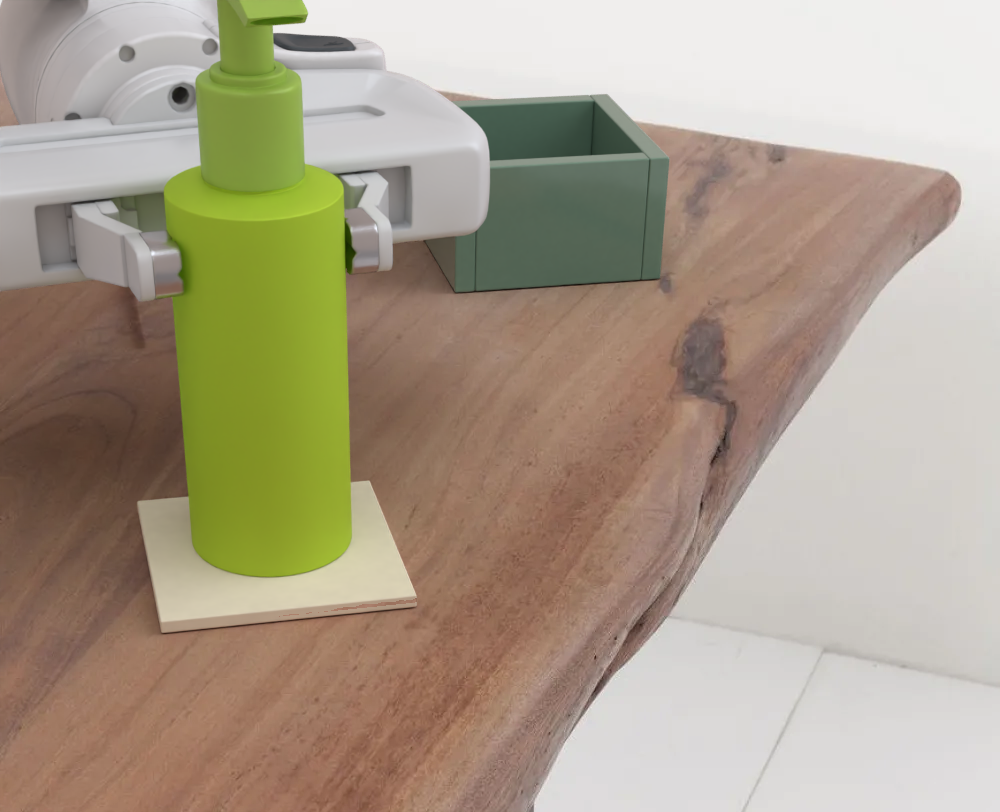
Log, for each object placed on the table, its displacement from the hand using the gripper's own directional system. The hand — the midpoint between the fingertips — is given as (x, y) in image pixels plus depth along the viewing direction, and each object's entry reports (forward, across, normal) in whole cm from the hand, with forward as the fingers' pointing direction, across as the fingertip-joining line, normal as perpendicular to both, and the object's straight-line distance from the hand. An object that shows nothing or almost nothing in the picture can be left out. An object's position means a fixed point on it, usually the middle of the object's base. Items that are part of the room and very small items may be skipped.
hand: (269, 263), depth 62 cm
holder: (-27, +21, +11) cm, 36 cm away
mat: (-1, 0, +12) cm, 12 cm away
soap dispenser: (-1, 0, +11) cm, 11 cm away
